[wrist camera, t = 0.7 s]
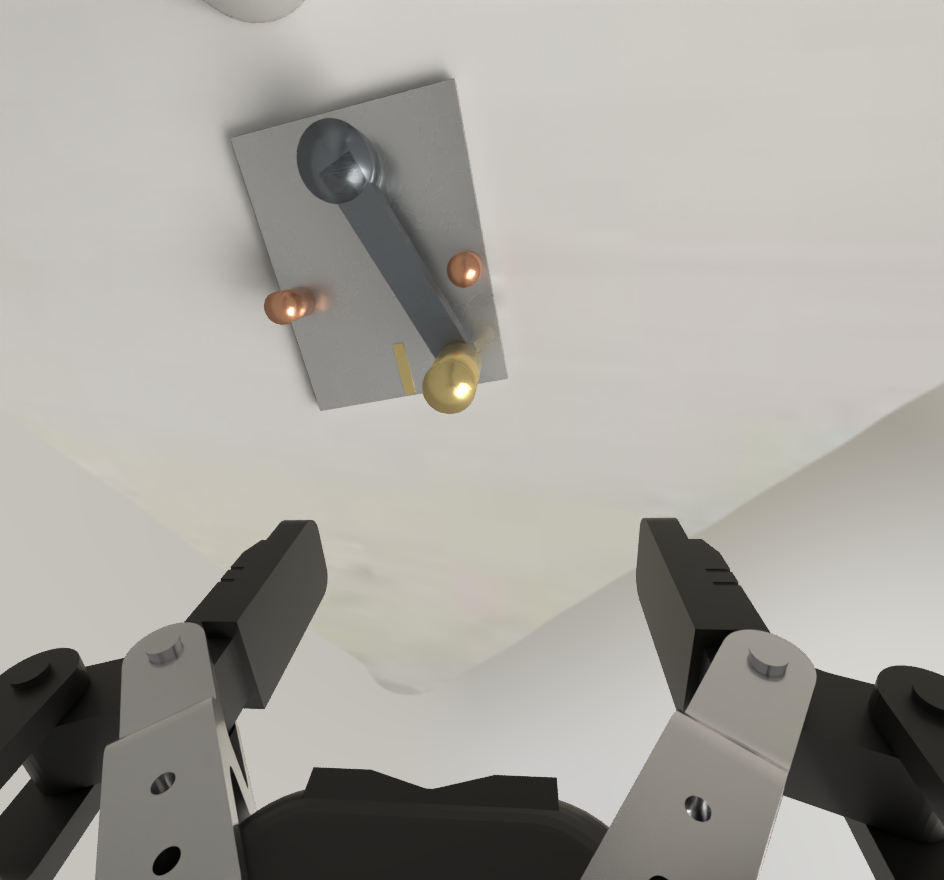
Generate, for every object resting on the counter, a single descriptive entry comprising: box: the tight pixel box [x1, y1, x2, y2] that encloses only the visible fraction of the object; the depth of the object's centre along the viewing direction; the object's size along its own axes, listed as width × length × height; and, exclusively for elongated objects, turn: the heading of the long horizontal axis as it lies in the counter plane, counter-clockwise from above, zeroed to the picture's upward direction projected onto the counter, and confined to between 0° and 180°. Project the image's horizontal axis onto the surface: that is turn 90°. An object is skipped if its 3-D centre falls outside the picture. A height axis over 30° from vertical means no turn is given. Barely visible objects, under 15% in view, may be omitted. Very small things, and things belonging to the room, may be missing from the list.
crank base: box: [230, 78, 508, 411], centre depth 29 cm, size 16×13×4 cm
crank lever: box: [297, 118, 482, 414], centre depth 25 cm, size 15×4×7 cm, turn 31°
